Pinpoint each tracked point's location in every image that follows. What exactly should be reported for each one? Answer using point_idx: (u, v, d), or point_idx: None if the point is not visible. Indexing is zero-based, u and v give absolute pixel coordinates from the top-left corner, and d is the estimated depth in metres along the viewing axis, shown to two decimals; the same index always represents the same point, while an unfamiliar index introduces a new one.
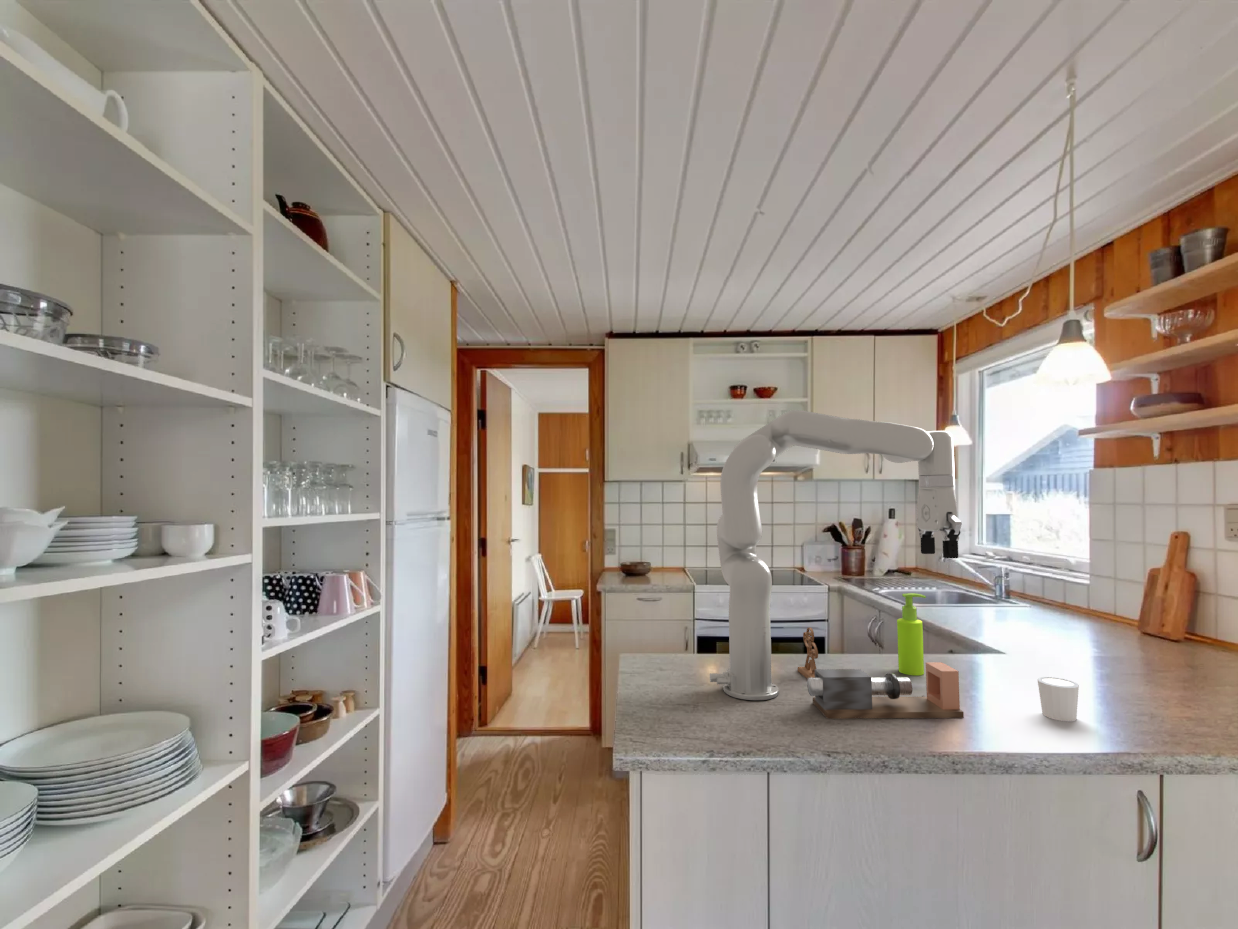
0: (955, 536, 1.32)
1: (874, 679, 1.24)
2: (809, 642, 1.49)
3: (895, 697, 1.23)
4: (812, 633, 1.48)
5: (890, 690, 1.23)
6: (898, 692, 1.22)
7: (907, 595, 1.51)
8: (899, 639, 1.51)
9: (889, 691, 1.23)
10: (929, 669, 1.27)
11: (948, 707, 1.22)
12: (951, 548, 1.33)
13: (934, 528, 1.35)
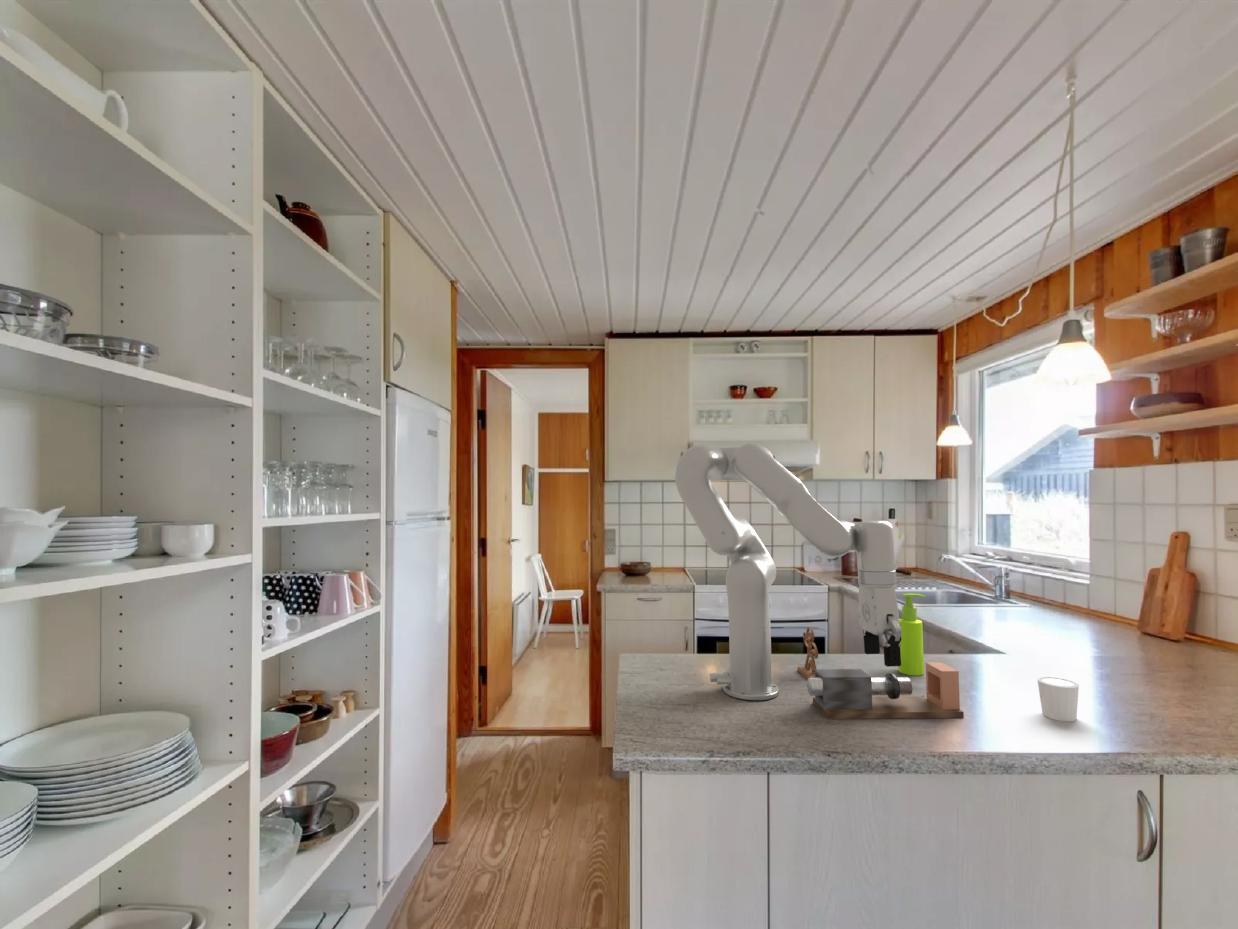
0: (896, 643, 1.18)
1: (874, 679, 1.24)
2: (809, 642, 1.49)
3: (895, 697, 1.23)
4: (812, 633, 1.48)
5: (890, 690, 1.23)
6: (898, 692, 1.22)
7: (907, 595, 1.51)
8: None
9: (889, 691, 1.23)
10: (929, 669, 1.27)
11: (948, 707, 1.22)
12: (892, 655, 1.19)
13: (874, 631, 1.22)
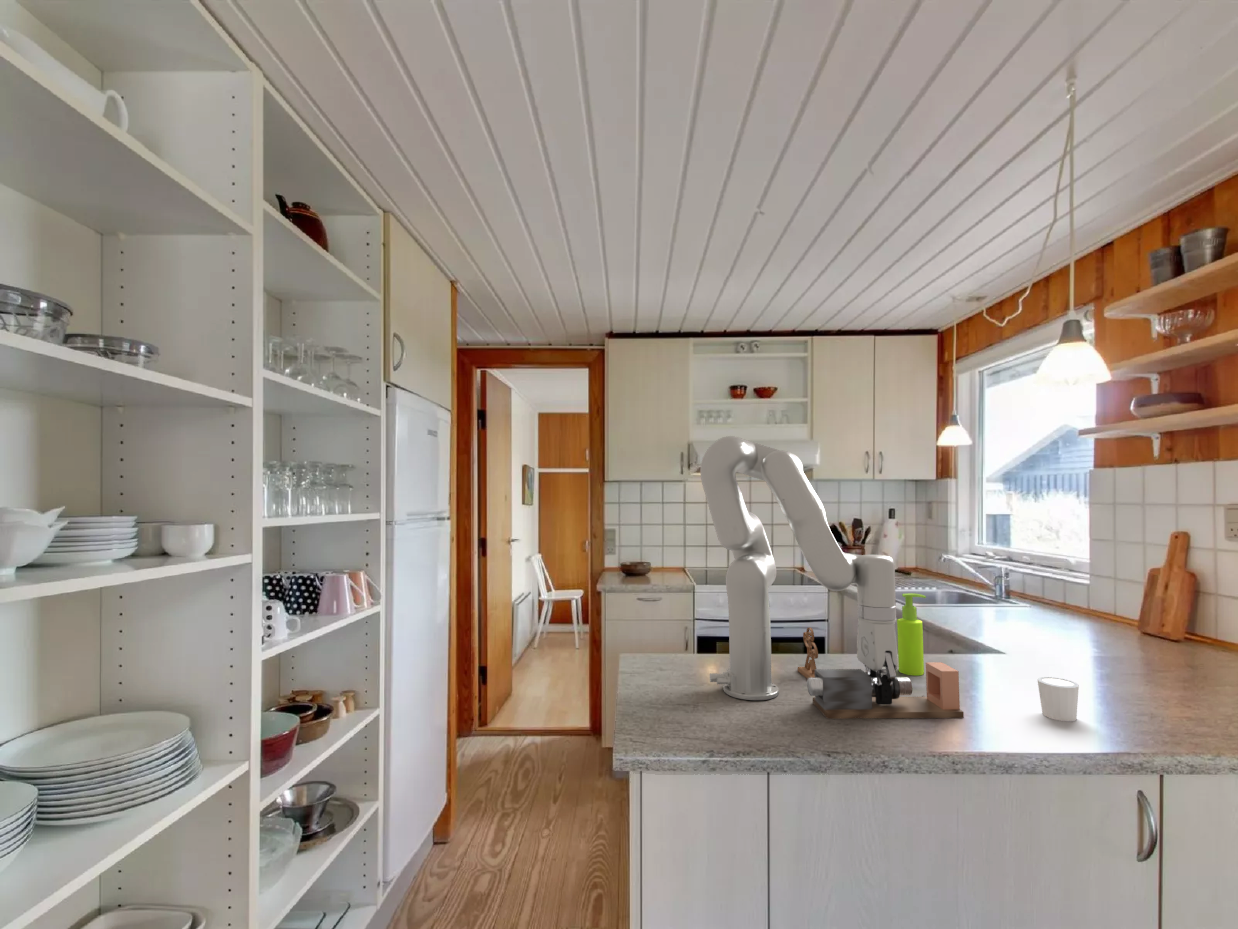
0: (888, 682, 1.21)
1: (874, 679, 1.24)
2: (809, 642, 1.49)
3: (895, 697, 1.23)
4: (812, 633, 1.48)
5: None
6: (898, 692, 1.22)
7: (907, 595, 1.51)
8: (899, 639, 1.51)
9: None
10: (929, 669, 1.27)
11: (948, 707, 1.22)
12: (884, 694, 1.22)
13: (872, 667, 1.22)
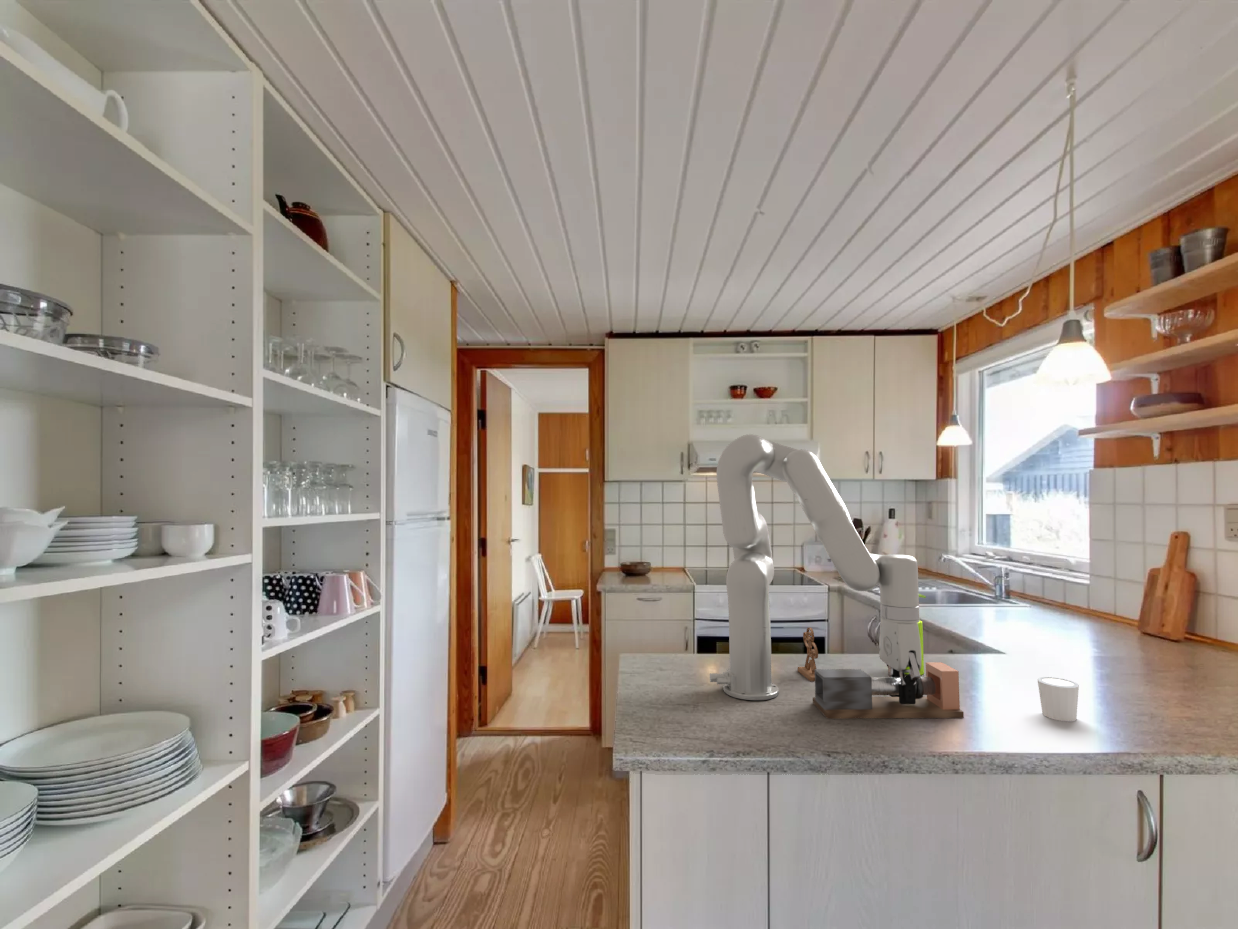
0: (911, 682, 1.21)
1: (897, 679, 1.24)
2: (809, 642, 1.49)
3: (918, 697, 1.23)
4: (812, 633, 1.48)
5: None
6: (922, 692, 1.22)
7: None
8: None
9: None
10: (929, 669, 1.27)
11: (948, 707, 1.22)
12: (907, 694, 1.22)
13: (895, 667, 1.22)
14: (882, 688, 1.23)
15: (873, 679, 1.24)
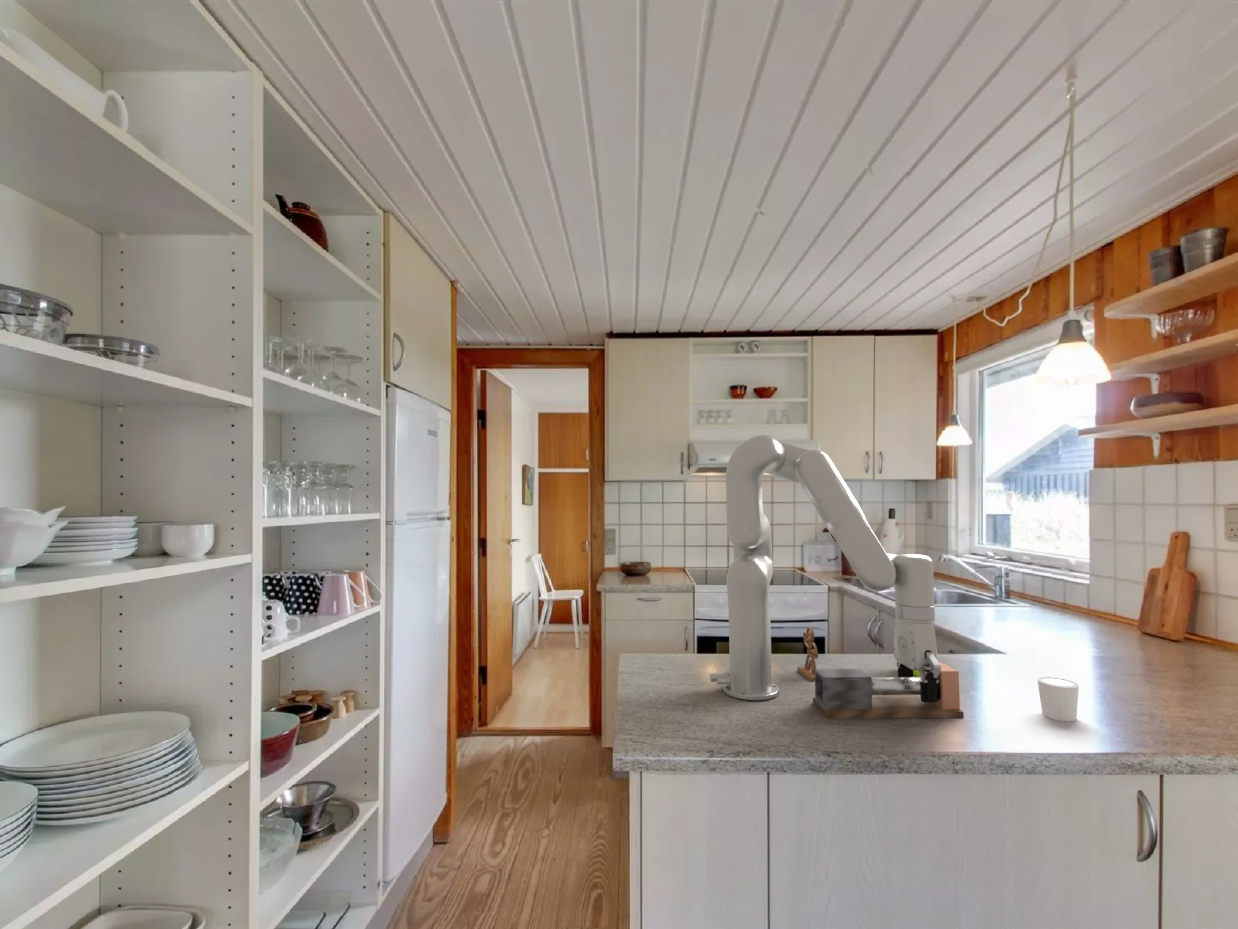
0: (934, 679, 1.18)
1: (912, 679, 1.24)
2: (809, 642, 1.49)
3: None
4: (812, 633, 1.48)
5: None
6: None
7: None
8: None
9: None
10: None
11: (948, 707, 1.22)
12: (930, 692, 1.19)
13: (911, 666, 1.22)
14: (897, 687, 1.23)
15: (888, 679, 1.24)
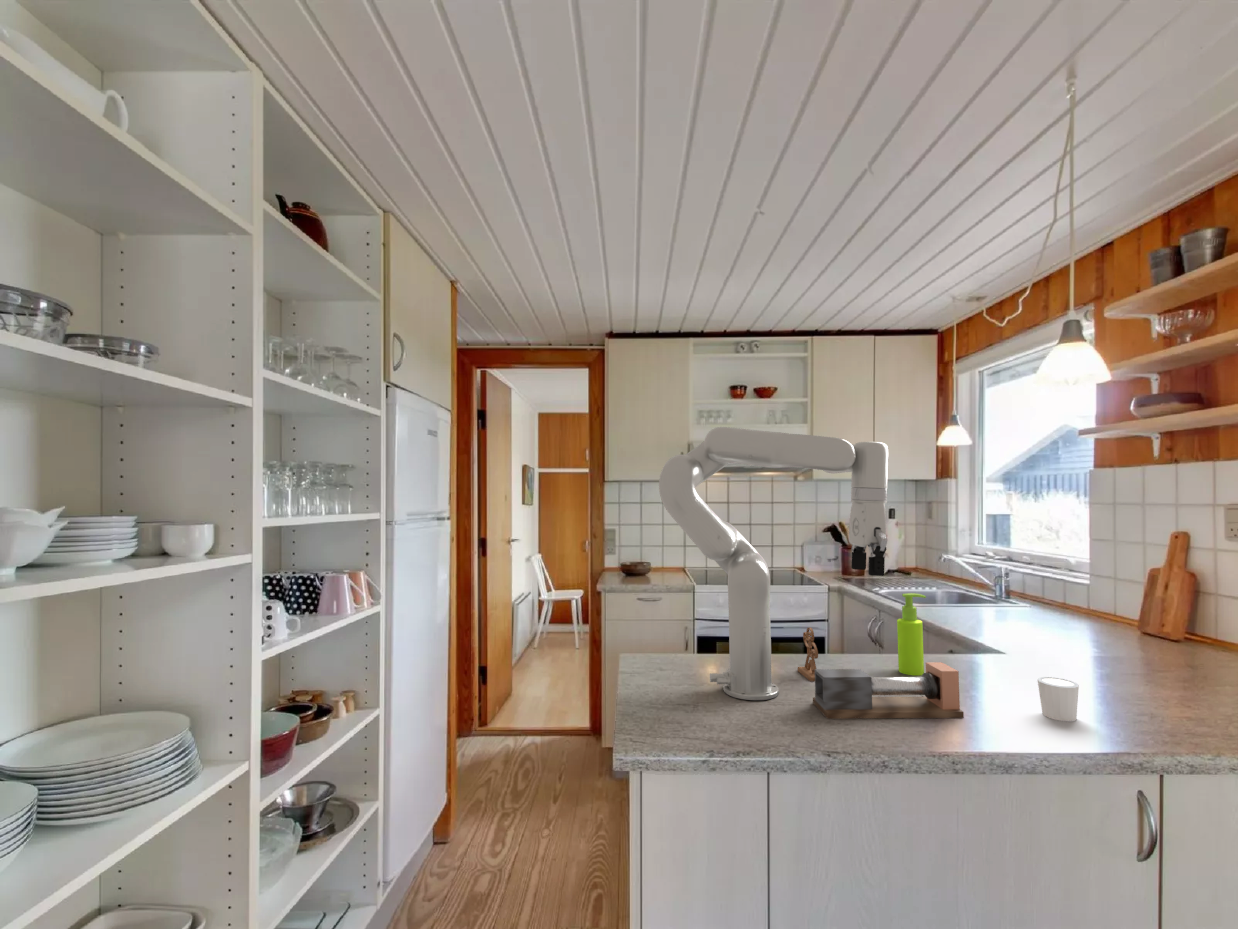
0: (881, 553, 1.26)
1: (912, 679, 1.24)
2: (809, 642, 1.49)
3: (933, 697, 1.23)
4: (812, 633, 1.48)
5: (928, 690, 1.23)
6: (936, 692, 1.22)
7: (907, 595, 1.51)
8: (899, 639, 1.51)
9: (927, 691, 1.23)
10: (929, 669, 1.27)
11: (948, 707, 1.22)
12: (877, 565, 1.27)
13: (861, 543, 1.29)
14: (897, 687, 1.23)
15: (888, 679, 1.24)
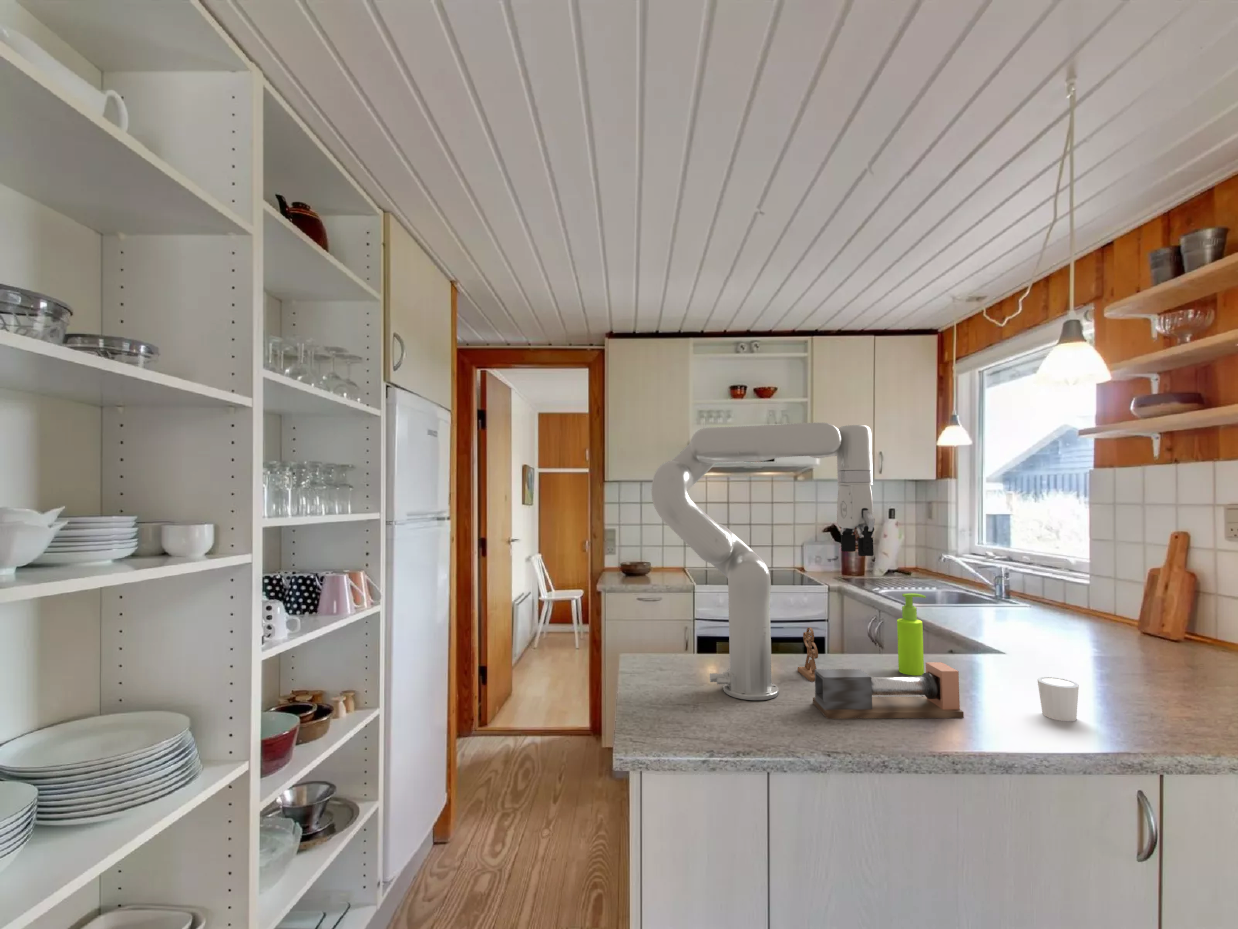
0: (869, 533, 1.28)
1: (912, 679, 1.24)
2: (809, 642, 1.49)
3: (933, 697, 1.23)
4: (812, 633, 1.48)
5: (928, 690, 1.23)
6: (936, 692, 1.22)
7: (907, 595, 1.51)
8: (899, 639, 1.51)
9: (927, 691, 1.23)
10: (929, 669, 1.27)
11: (948, 707, 1.22)
12: (866, 545, 1.29)
13: (849, 525, 1.31)
14: (897, 687, 1.23)
15: (888, 679, 1.24)
